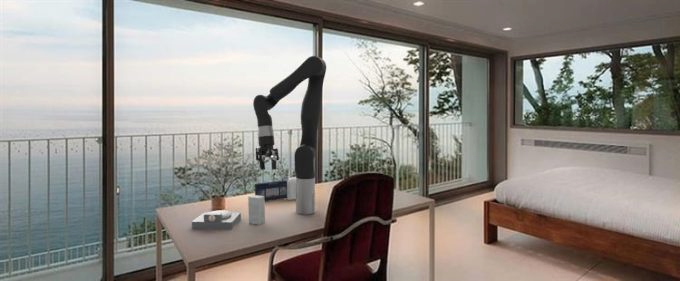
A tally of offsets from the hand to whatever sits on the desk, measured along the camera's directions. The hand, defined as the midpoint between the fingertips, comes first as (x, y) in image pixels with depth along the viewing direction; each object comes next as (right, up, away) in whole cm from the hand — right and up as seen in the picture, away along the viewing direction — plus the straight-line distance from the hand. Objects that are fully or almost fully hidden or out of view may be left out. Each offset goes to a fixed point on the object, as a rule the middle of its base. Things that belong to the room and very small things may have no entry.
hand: (268, 169), depth 182 cm
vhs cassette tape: (-3, -19, +28) cm, 34 cm away
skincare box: (-3, -23, -12) cm, 26 cm away
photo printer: (+10, -19, +31) cm, 37 cm away
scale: (-20, -23, -14) cm, 33 cm away
